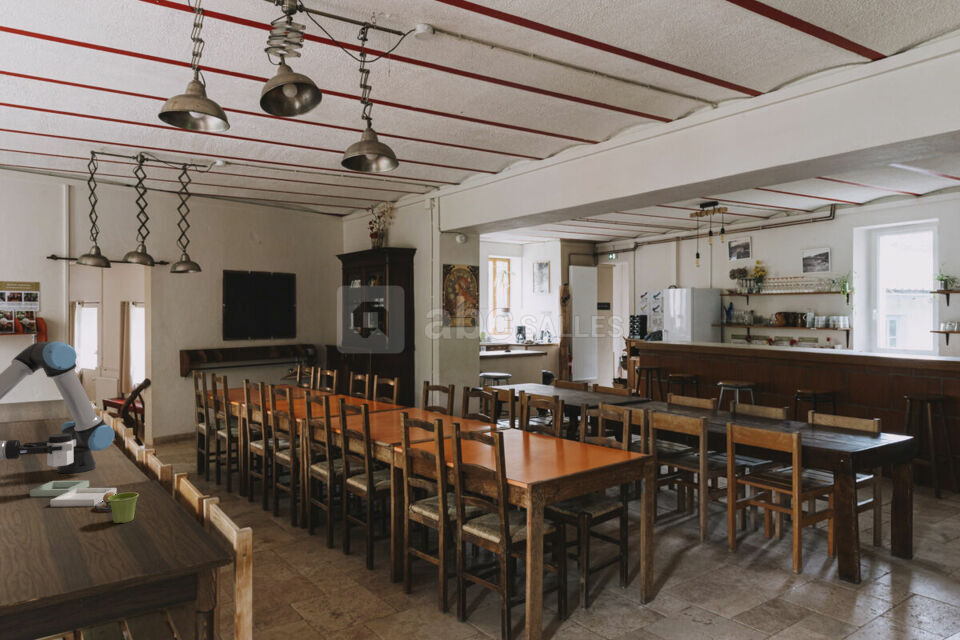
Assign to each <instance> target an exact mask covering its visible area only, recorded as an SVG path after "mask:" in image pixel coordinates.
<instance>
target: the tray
mask: <svg viewBox="0 0 960 640" xmlns="http://www.w3.org/2000/svg"><path fill="white" fill-rule="evenodd" d="M104 489H105V490H104ZM117 490H118V489H117V487H87V488H75V489H73V490H71V491H69V492H67V493H65V494H62V495H60V496H55V497H54V498H52V499H50V507H95V505H96V504H98V503H100V502H102V501H103V502H104V500H103V497H104V495H105V494H107V493H109V492H114V495H115V494H118V493H117V492H118V491H117ZM105 491H106V492H105Z"/></svg>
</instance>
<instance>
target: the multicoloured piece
mask: <svg viewBox="0 0 960 640" xmlns="http://www.w3.org/2000/svg"><path fill="white" fill-rule="evenodd" d="M104 490H105V489H104ZM105 492H106V491H105ZM113 495H114V492H109V493H107V494H105V495H104V497H103V500H104V501H103V502H100V503H98V504H96V505H95V506H94V511H95V512H98V513H112V509H111V504H110V502H109V500H108V498H109V497H110V496H113Z"/></svg>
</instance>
